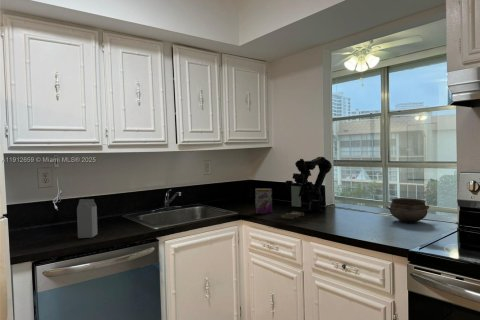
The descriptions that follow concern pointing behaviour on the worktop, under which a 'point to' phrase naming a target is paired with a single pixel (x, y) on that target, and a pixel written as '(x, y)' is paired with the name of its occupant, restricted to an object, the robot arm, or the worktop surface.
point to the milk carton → (87, 218)
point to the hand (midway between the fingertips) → (294, 196)
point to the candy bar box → (263, 201)
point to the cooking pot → (408, 209)
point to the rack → (292, 215)
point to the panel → (296, 196)
